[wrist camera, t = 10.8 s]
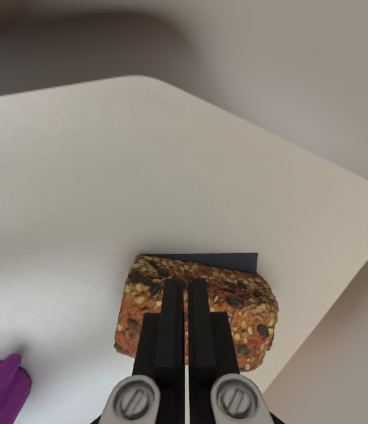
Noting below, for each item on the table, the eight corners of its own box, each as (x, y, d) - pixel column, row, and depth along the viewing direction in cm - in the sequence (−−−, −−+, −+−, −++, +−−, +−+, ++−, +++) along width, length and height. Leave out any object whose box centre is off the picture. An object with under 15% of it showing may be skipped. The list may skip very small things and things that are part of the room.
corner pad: (142, 254, 37) (141, 255, 37) (257, 253, 37) (257, 253, 37) (147, 323, 41) (146, 324, 41) (250, 322, 41) (251, 322, 41)
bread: (125, 308, 40) (107, 367, 31) (136, 245, 36) (120, 291, 27) (244, 329, 41) (262, 392, 32) (266, 271, 38) (294, 323, 29)
